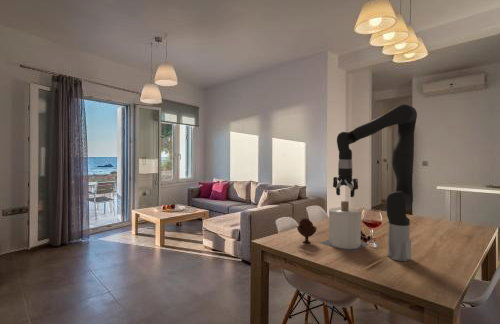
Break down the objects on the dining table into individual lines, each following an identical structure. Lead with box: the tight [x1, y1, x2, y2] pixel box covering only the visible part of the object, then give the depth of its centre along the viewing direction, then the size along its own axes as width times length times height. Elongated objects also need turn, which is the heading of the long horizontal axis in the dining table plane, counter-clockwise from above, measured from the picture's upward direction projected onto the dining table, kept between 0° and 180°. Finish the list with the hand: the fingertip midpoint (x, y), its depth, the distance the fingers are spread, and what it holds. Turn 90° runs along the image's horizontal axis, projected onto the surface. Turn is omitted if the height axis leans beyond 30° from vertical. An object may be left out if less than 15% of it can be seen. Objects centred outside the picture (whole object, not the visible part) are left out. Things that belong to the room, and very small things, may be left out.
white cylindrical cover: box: [328, 200, 362, 249], centre depth 156 cm, size 17×17×24 cm
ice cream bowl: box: [296, 217, 317, 245], centre depth 158 cm, size 11×11×15 cm
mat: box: [319, 239, 371, 254], centre depth 156 cm, size 20×20×1 cm
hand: (345, 196), depth 155 cm, fingers open, 8 cm apart
